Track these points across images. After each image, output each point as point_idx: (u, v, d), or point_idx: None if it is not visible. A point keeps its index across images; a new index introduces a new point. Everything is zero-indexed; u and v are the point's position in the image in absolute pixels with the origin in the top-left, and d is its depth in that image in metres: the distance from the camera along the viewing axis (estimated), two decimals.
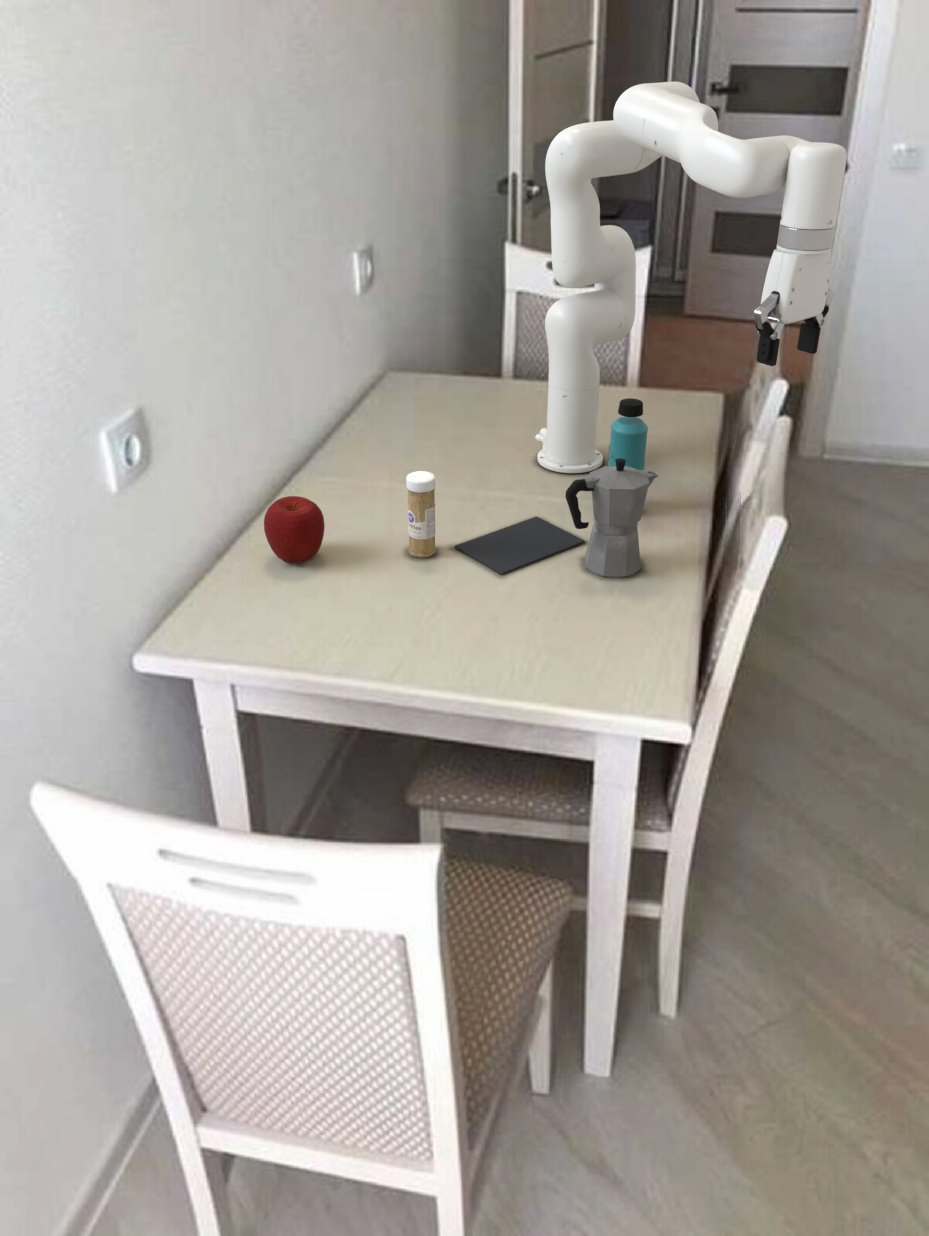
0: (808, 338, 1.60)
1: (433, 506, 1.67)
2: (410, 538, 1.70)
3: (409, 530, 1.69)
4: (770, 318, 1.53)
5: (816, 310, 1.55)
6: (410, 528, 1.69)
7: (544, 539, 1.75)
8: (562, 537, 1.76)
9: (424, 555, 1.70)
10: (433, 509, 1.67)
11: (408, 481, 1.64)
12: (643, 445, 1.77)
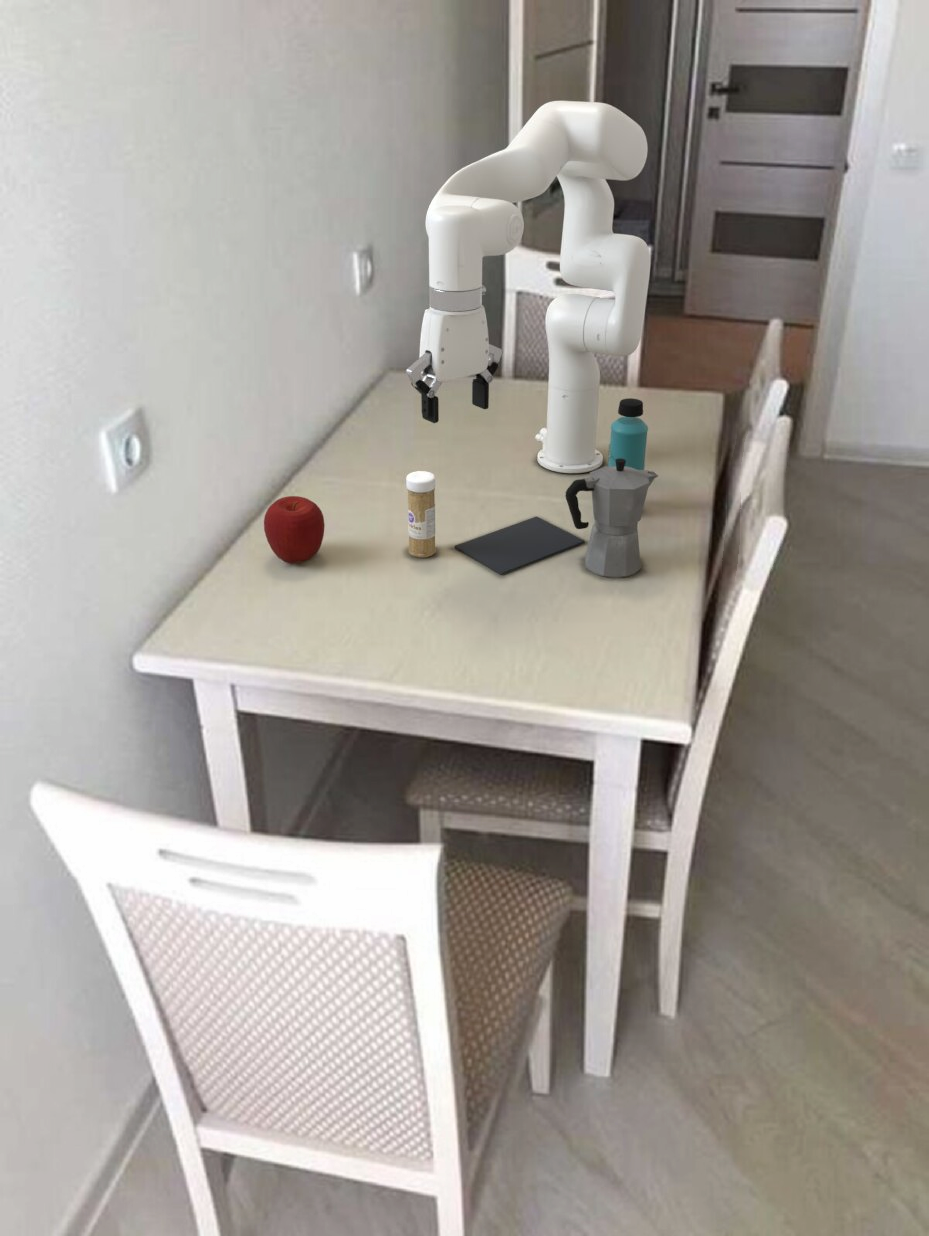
0: (479, 394, 1.61)
1: (433, 506, 1.67)
2: (410, 538, 1.70)
3: (409, 530, 1.69)
4: (428, 376, 1.55)
5: (477, 367, 1.56)
6: (410, 528, 1.69)
7: (544, 539, 1.75)
8: (562, 537, 1.76)
9: (424, 555, 1.70)
10: (433, 509, 1.67)
11: (408, 481, 1.64)
12: (643, 445, 1.77)
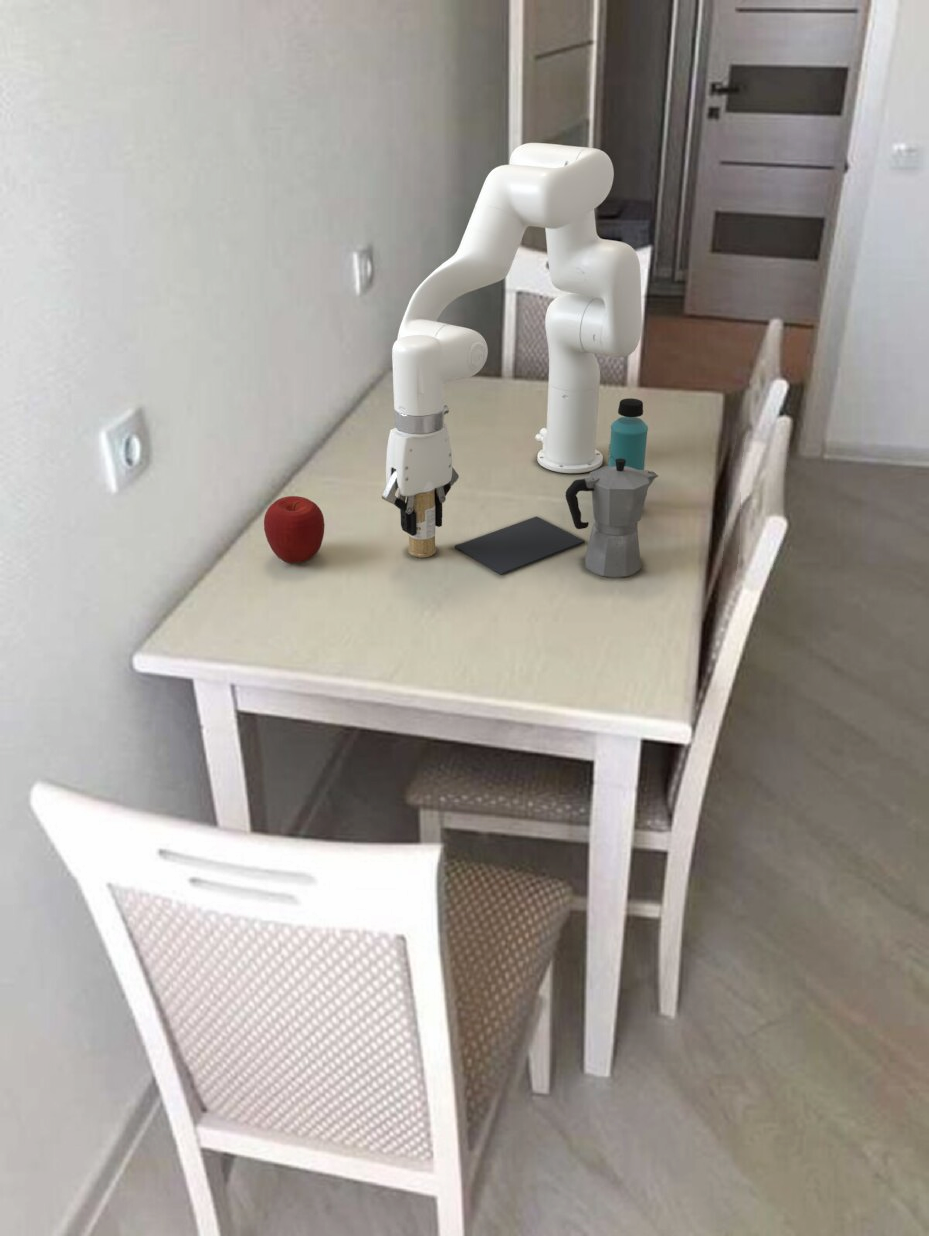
0: None
1: (433, 506, 1.67)
2: (410, 538, 1.70)
3: None
4: None
5: (441, 481, 1.66)
6: None
7: (544, 539, 1.75)
8: (562, 537, 1.76)
9: (424, 555, 1.70)
10: (433, 509, 1.67)
11: None
12: (643, 445, 1.77)
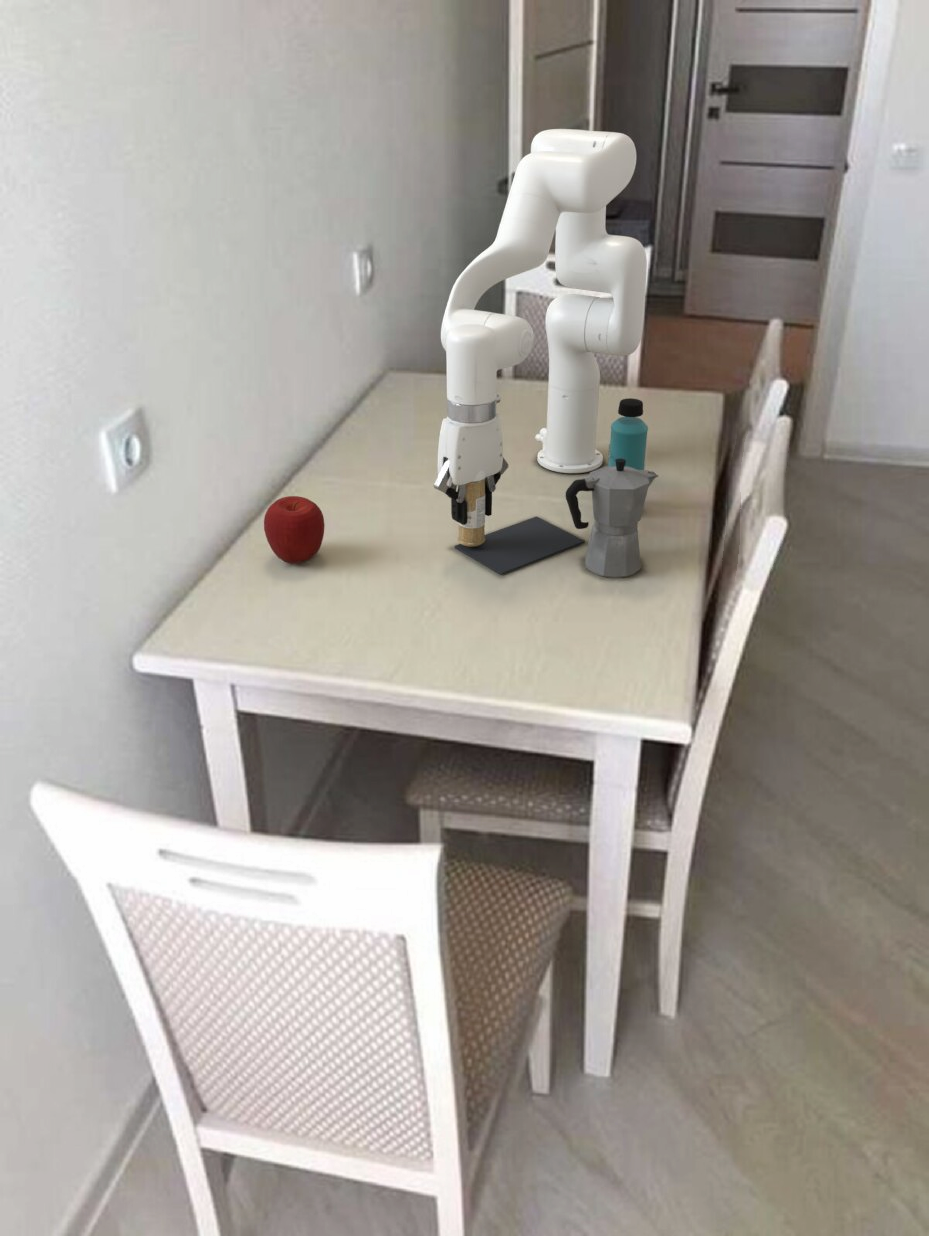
0: None
1: (483, 495, 1.68)
2: (460, 527, 1.71)
3: None
4: (453, 482, 1.66)
5: (491, 470, 1.66)
6: None
7: (544, 539, 1.75)
8: (562, 537, 1.76)
9: (474, 544, 1.71)
10: (483, 498, 1.68)
11: None
12: (643, 445, 1.77)
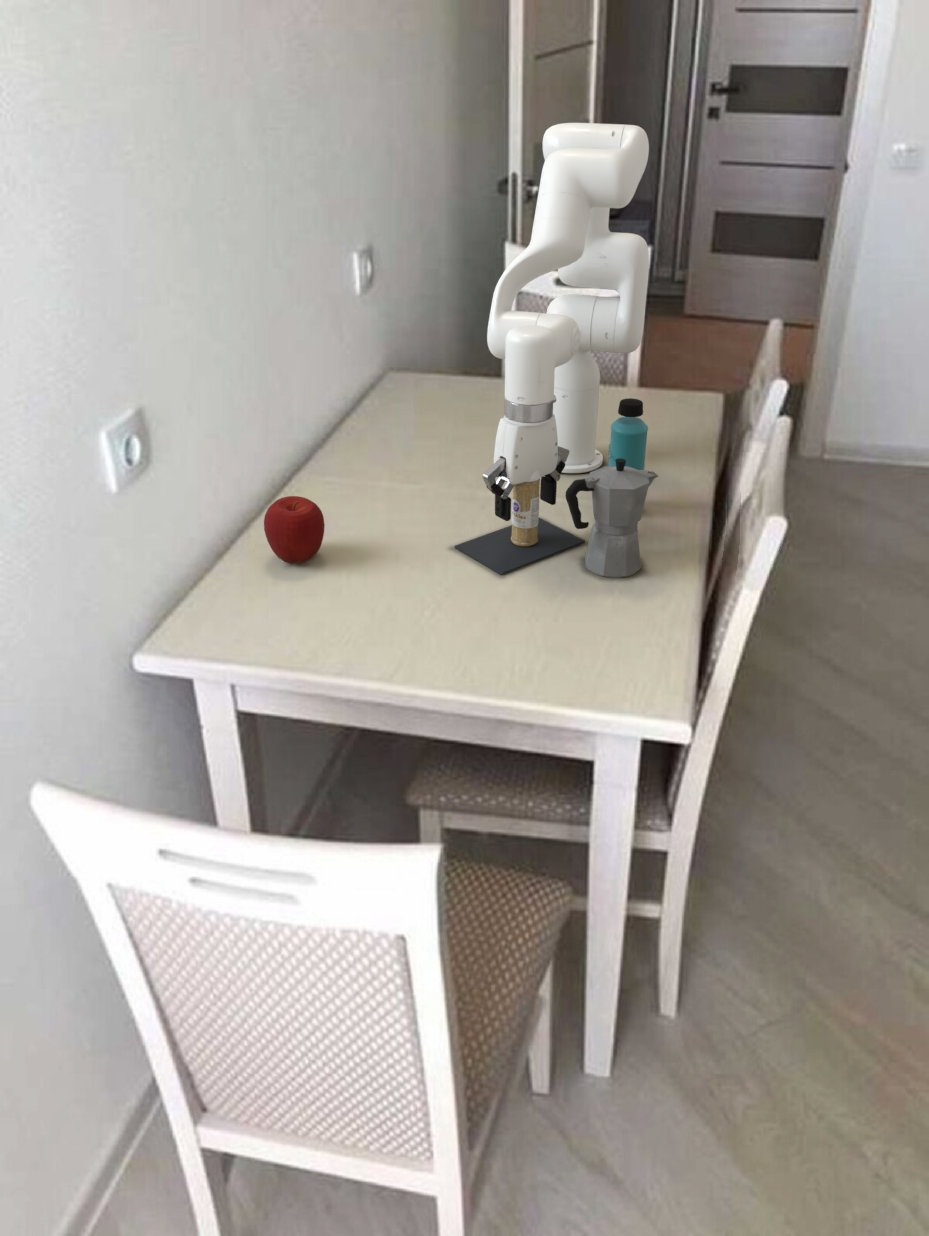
0: (547, 491, 1.73)
1: (538, 495, 1.70)
2: (514, 527, 1.72)
3: (513, 519, 1.72)
4: (502, 478, 1.66)
5: (546, 469, 1.68)
6: (514, 517, 1.71)
7: (544, 539, 1.75)
8: (562, 537, 1.76)
9: (527, 544, 1.72)
10: (538, 498, 1.70)
11: None
12: (643, 445, 1.77)
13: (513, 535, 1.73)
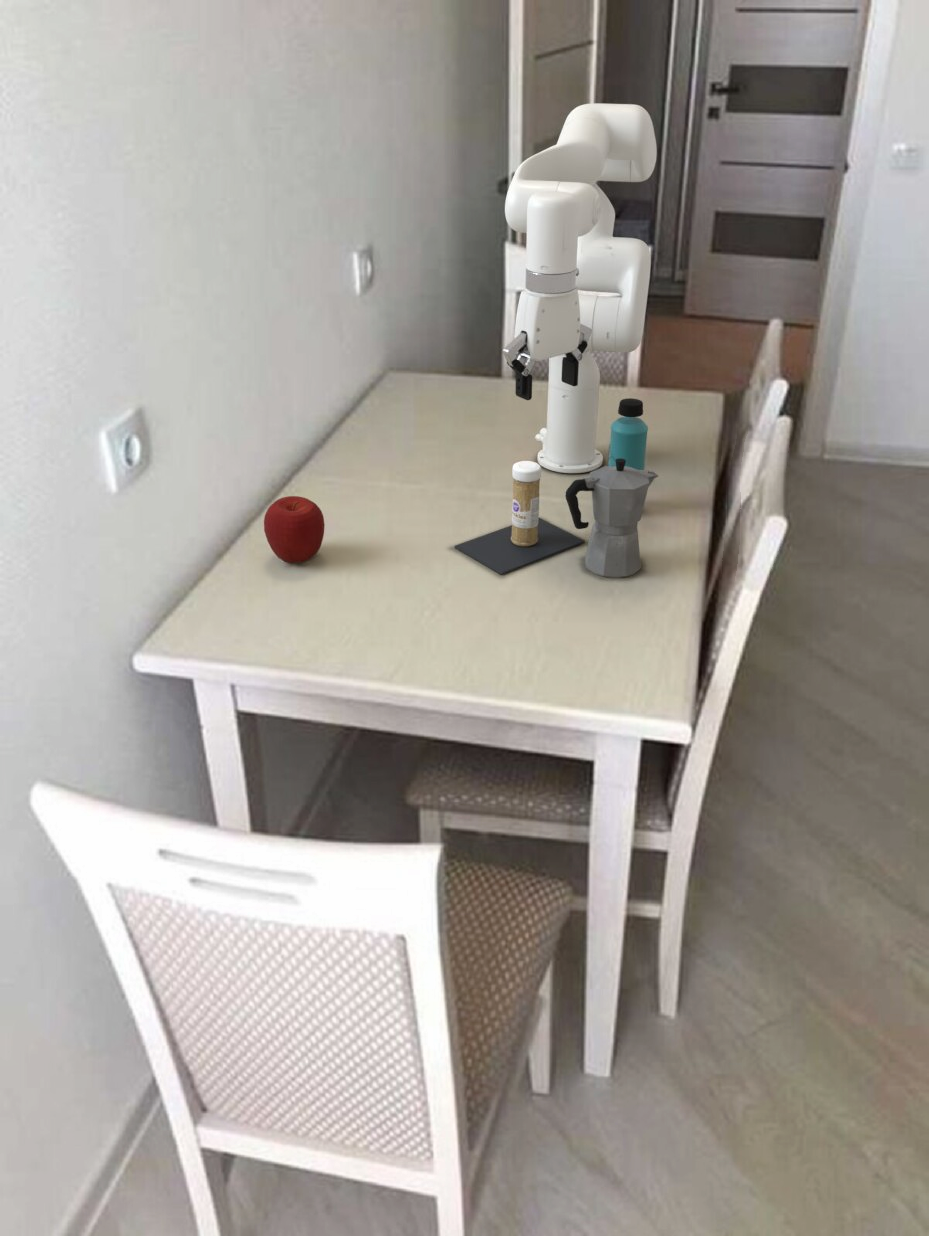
0: (569, 372, 1.68)
1: (538, 495, 1.70)
2: (514, 527, 1.72)
3: (513, 519, 1.72)
4: (523, 355, 1.62)
5: (568, 346, 1.63)
6: (514, 517, 1.71)
7: (544, 539, 1.75)
8: (562, 537, 1.76)
9: (527, 544, 1.72)
10: (538, 498, 1.70)
11: (515, 471, 1.67)
12: (643, 445, 1.77)
13: (513, 535, 1.73)
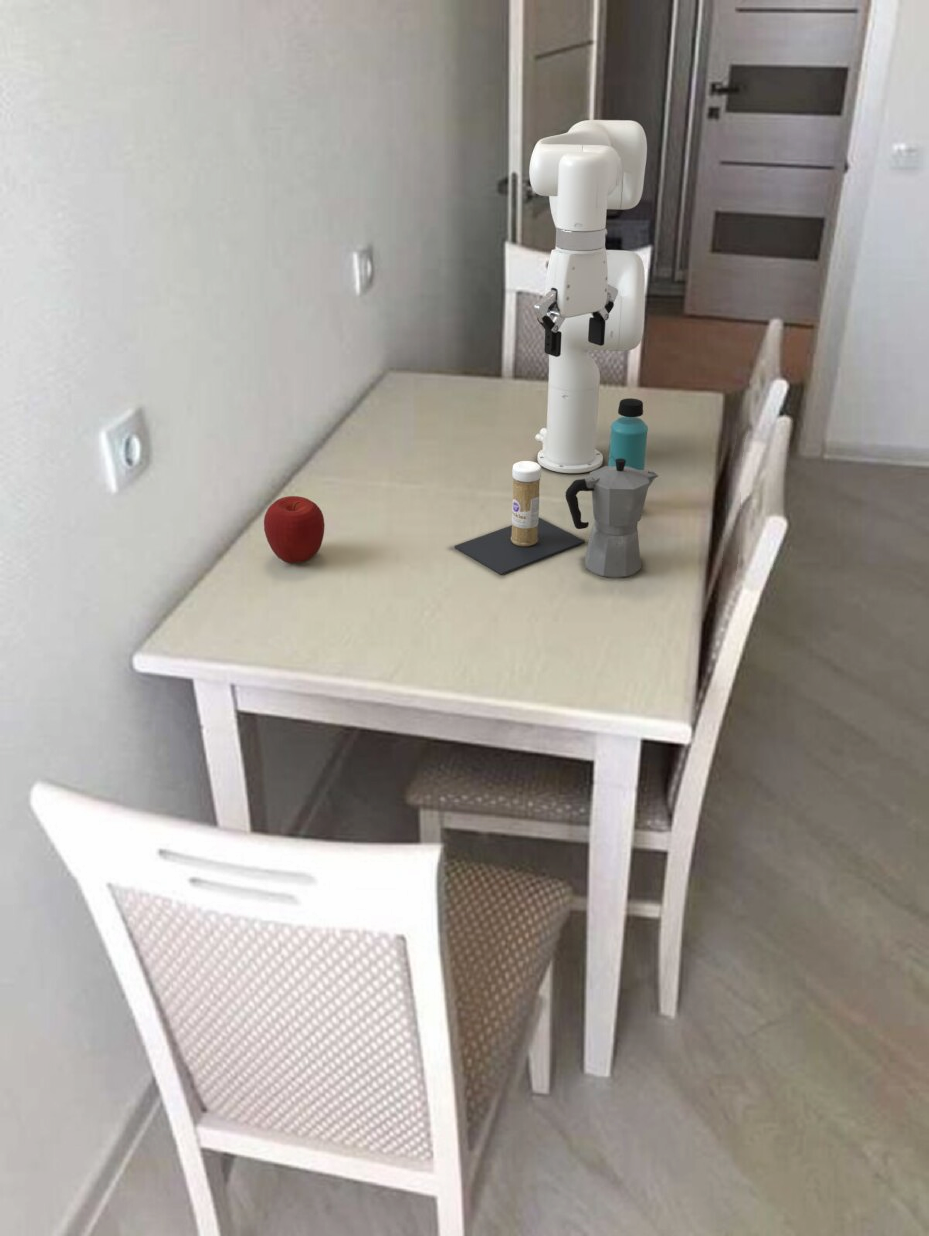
0: (595, 331, 1.73)
1: (538, 495, 1.70)
2: (514, 527, 1.72)
3: (513, 519, 1.72)
4: (552, 312, 1.67)
5: (596, 305, 1.68)
6: (514, 517, 1.71)
7: (544, 539, 1.75)
8: (562, 537, 1.76)
9: (527, 544, 1.72)
10: (538, 498, 1.70)
11: (515, 471, 1.67)
12: (643, 445, 1.77)
13: (513, 535, 1.73)
